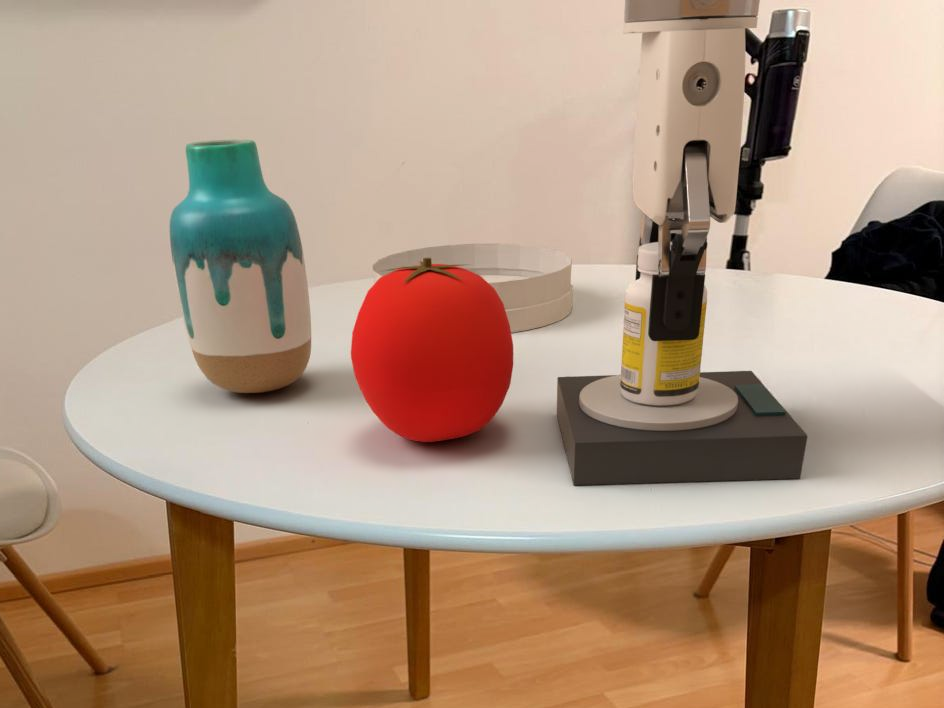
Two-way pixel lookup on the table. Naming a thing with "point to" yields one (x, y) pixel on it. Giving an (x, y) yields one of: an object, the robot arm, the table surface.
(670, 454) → the scale
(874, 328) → the table surface
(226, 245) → the vase
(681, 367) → the supplement bottle
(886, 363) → the table surface
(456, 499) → the table surface
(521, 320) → the dish
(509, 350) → the tomato
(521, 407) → the table surface
